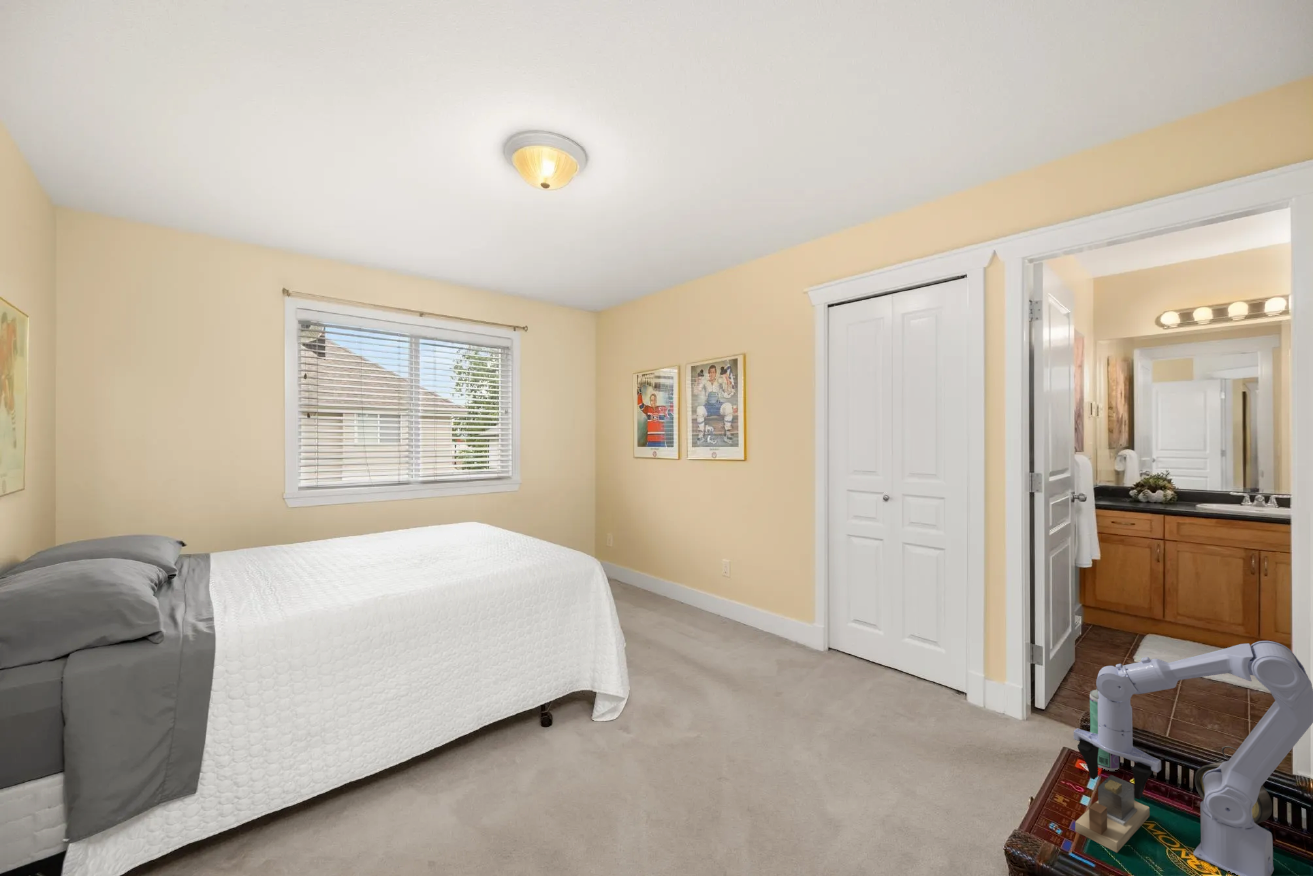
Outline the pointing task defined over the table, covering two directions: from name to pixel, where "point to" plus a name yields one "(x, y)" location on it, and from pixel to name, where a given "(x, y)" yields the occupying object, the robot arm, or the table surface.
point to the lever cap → (1116, 796)
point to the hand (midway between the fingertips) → (1115, 786)
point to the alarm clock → (1260, 808)
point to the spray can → (1104, 758)
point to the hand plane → (1111, 825)
